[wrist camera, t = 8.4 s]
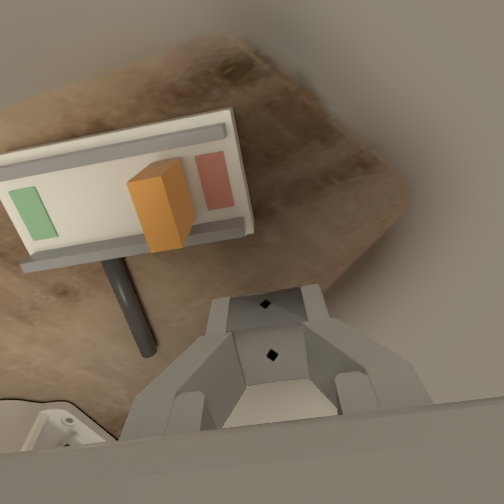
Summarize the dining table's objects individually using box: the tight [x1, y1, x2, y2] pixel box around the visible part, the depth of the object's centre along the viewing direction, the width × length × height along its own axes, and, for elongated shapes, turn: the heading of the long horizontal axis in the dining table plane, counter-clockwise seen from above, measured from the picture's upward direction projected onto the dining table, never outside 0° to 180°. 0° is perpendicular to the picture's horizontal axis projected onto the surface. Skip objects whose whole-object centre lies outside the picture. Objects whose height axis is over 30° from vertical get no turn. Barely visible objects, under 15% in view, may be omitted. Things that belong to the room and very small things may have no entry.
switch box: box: [0, 107, 254, 358], centre depth 28 cm, size 18×21×5 cm
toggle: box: [126, 157, 196, 253], centre depth 22 cm, size 2×4×5 cm, turn 10°
